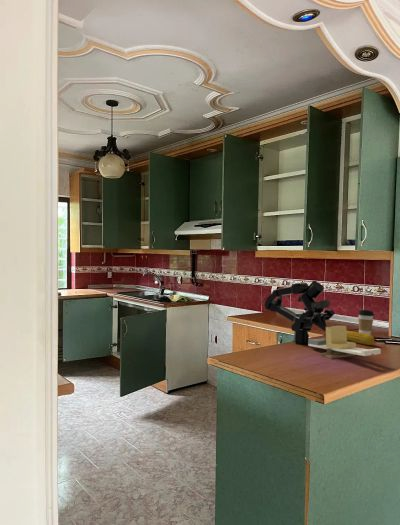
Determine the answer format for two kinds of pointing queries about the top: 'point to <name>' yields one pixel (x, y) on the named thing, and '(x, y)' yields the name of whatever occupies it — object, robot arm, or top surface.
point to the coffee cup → (365, 321)
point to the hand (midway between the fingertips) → (325, 330)
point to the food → (360, 338)
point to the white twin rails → (358, 351)
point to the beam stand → (336, 354)
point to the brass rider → (338, 338)
